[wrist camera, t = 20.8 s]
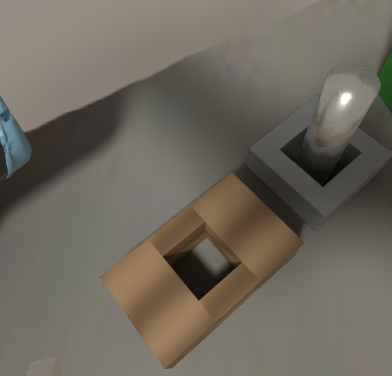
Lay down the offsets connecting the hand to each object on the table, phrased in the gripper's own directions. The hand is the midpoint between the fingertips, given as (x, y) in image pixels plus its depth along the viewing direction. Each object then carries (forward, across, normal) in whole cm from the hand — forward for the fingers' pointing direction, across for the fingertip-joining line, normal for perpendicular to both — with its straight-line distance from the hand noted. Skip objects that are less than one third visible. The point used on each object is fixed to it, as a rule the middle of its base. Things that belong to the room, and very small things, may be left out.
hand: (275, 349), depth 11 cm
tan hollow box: (+31, -2, -16) cm, 35 cm away
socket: (+39, +16, -8) cm, 43 cm away
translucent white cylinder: (+39, +16, -8) cm, 43 cm away
